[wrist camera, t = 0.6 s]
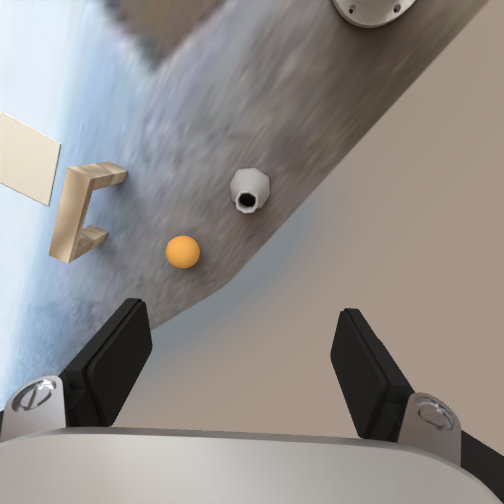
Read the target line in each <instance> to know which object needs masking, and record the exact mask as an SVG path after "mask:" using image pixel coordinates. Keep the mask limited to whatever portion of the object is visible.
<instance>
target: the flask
mask: <svg viewBox="0 0 504 504" xmlns="http://www.w3.org/2000/svg"><path fill="white" fill-rule="evenodd" d="M230 192H231V200H232V201H233V202H235V203H236V209H238V210H239V211H241V212H243V213H254V211H255V210H256V208H262V206H263V205H264V203H265V202H266V200H267V199H268V197H269V195H270V180H269V177H268V176H267V175H265V174H264V173H262V172H261V171H259V170H258V169H256V168H246V169H238V170H237V172H236V174H235V175H234V177H233V179H232V181H231V182H230Z"/></svg>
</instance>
